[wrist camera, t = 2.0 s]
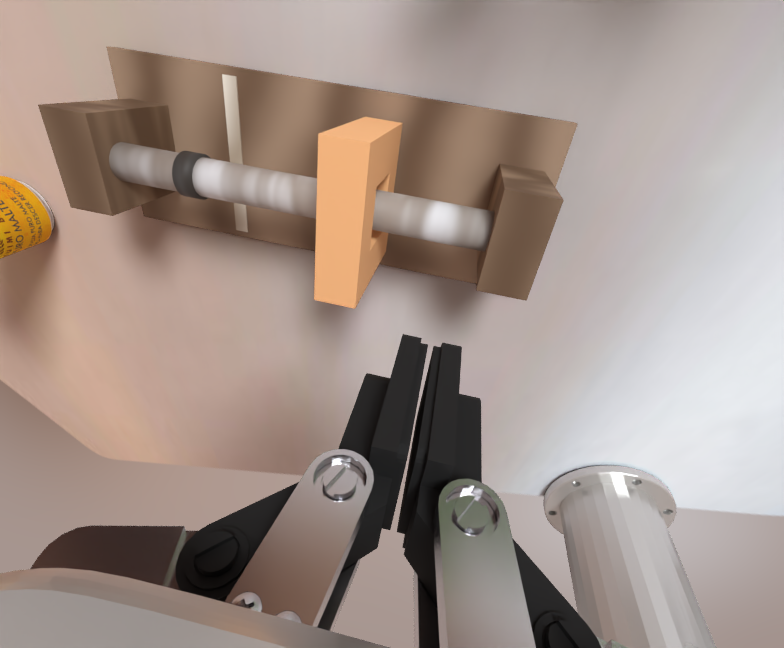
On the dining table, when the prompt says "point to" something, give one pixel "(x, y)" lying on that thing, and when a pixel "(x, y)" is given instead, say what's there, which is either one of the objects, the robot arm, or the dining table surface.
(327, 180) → the collar
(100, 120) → the pipe stand
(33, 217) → the beer can
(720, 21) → the dining table surface
